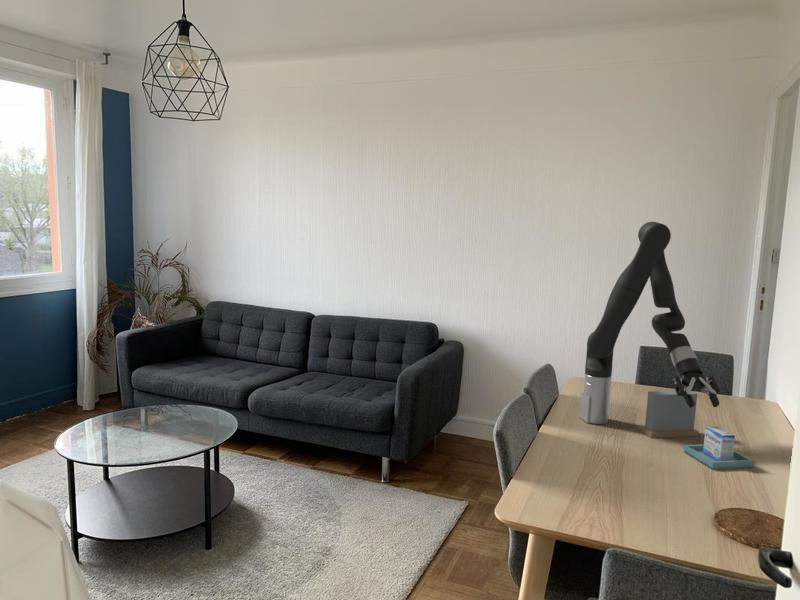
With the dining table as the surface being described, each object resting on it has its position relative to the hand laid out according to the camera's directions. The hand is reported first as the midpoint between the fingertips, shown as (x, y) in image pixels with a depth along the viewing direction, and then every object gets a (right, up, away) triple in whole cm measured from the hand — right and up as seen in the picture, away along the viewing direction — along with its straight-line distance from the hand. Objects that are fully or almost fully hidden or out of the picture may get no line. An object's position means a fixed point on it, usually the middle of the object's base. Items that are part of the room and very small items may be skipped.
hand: (704, 406), depth 189 cm
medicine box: (+1, -15, -5) cm, 16 cm away
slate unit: (-4, -12, +17) cm, 21 cm away
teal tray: (+1, -16, -5) cm, 16 cm away
